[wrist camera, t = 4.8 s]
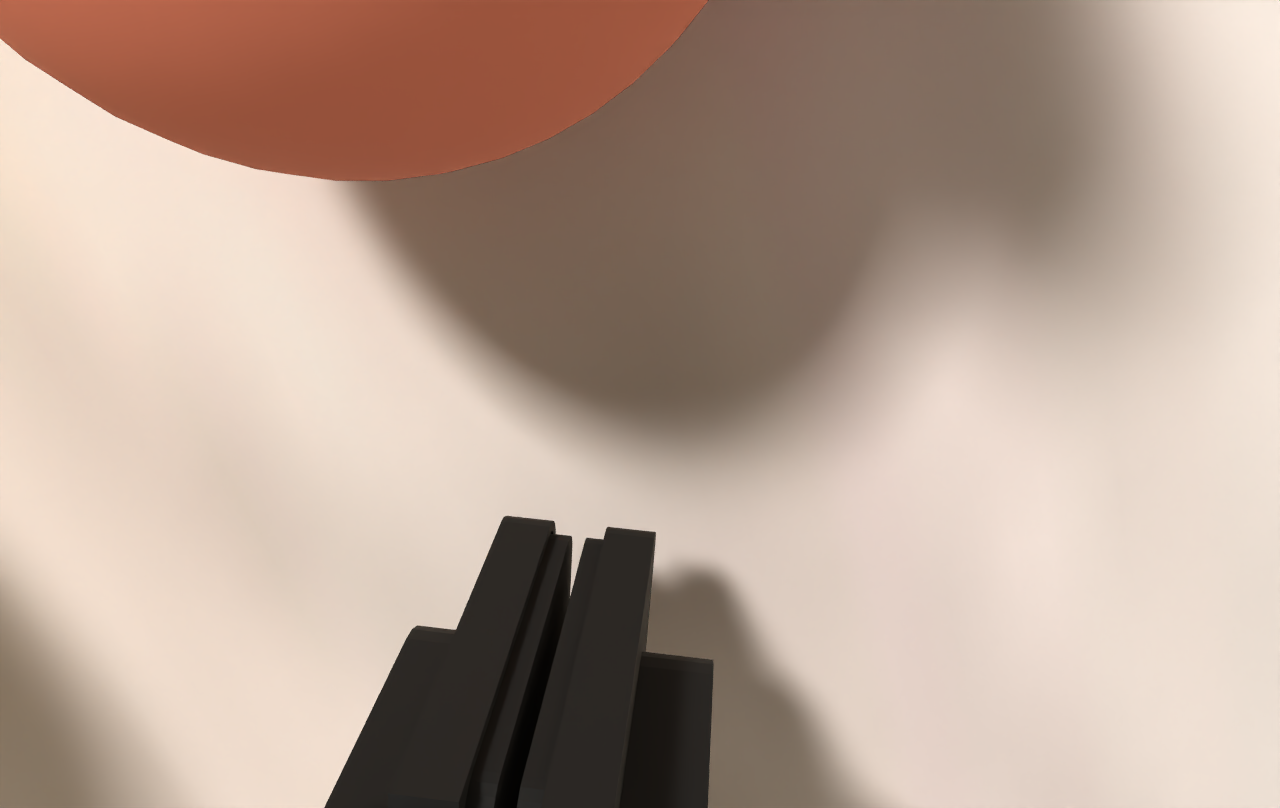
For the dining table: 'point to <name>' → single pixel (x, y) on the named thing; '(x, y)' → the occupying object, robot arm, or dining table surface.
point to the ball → (348, 73)
